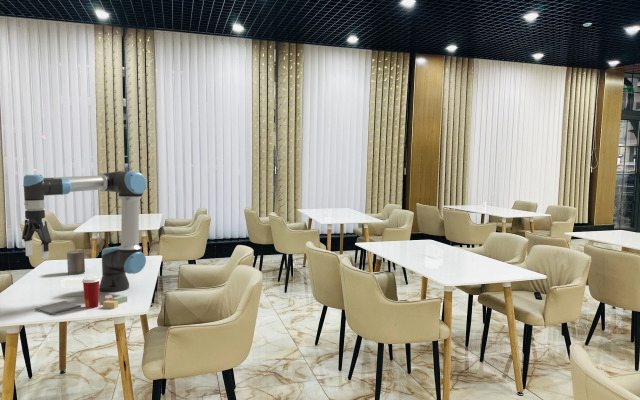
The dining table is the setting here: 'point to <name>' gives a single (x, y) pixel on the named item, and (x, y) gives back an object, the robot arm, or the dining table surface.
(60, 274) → the dining table surface
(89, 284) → the paper cup
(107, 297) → the rose brick
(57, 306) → the slate mat
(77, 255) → the pillar candle
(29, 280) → the dining table surface
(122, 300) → the sage brick
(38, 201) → the robot arm
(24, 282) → the dining table surface
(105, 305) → the ochre brick
